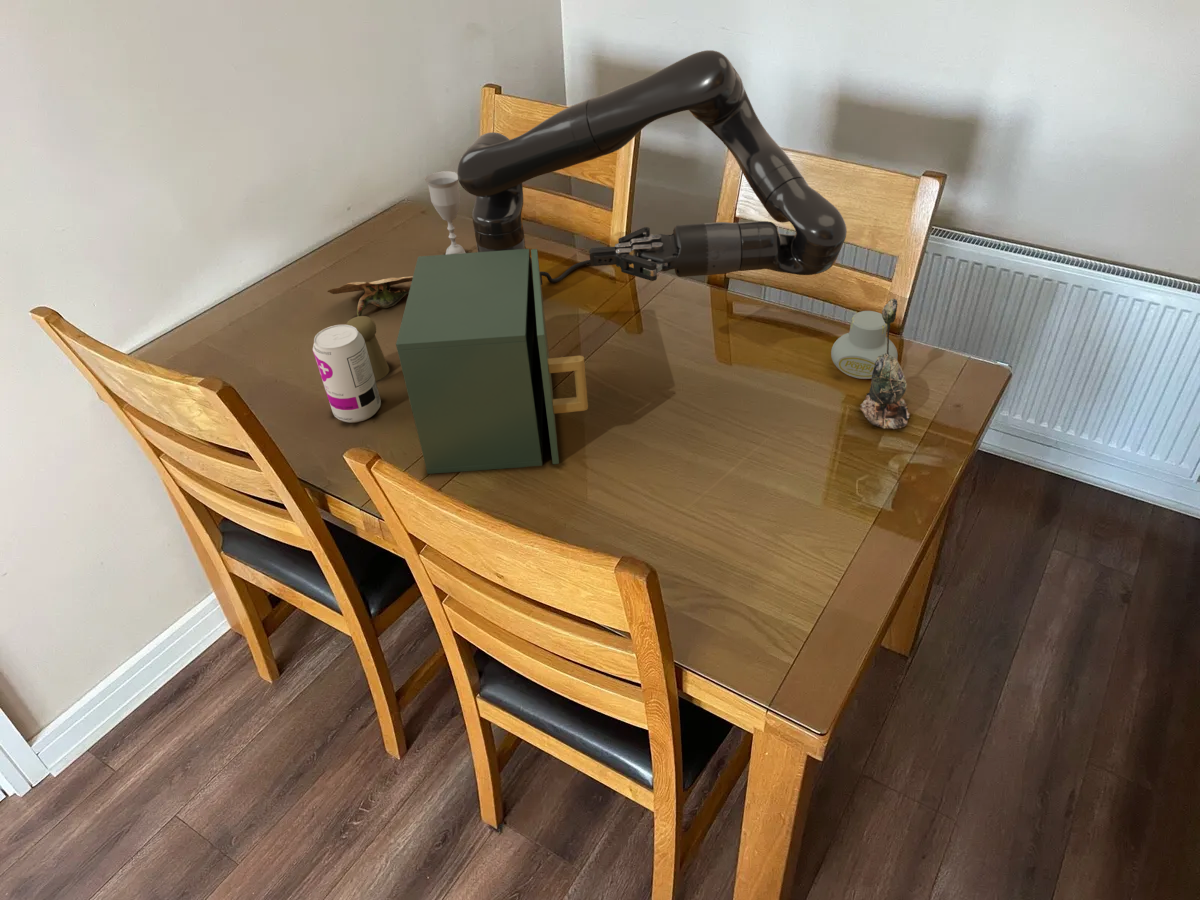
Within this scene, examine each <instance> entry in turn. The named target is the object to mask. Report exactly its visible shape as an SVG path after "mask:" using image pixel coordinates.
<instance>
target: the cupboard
mask: <svg viewBox="0 0 1200 900" xmlns="http://www.w3.org/2000/svg"><path fill="white" fill-rule="evenodd" d="M530 257H531V250H530V248H526V249H517V250H503V251H489V252H478V251H475V252H466V253H461V254H447V255H446V254H435V255H421V256H419V255H418V256H417V260H416V263H415V267H414V270H413V275H412V276H413V279H412V281H411V283H410V287H409V290H410V291H409V290H408V294H407V295H408V296H407V298H406V302H405V308H404V310H403V315H402V319H401V323H400V327H399V330H398V335H397V338H396V341H395V342H396V343H395V347H396V350H397V355H398V359H399V362H400V367H401V371H402V375H403V379H404V383H405V388H406V391H407V396H408V399H409V404H410V408H411V412H412V417H413V420H414V424H415V428H416V432H417V437H418V440H419V445H420V449H421V452H422V457H423V462H424V466H425V470H426V473H427V475H432V474H433V475H434V474H447V473H460V472H476V471H491V470H503V469H516V468H517V469H519V468H529V467H542V466H543V457H544V456H543V455H544V453H543V451H544V388H543V379H542V371H541V363H540V355H539V346H538V338H537V326H536V312H535V298H534V285H533V276H532V268H531V260H532V258H531V259H530Z"/></svg>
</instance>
